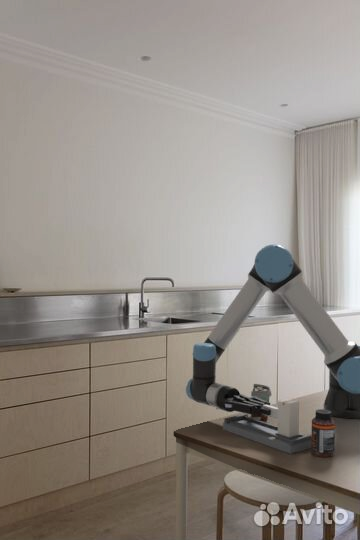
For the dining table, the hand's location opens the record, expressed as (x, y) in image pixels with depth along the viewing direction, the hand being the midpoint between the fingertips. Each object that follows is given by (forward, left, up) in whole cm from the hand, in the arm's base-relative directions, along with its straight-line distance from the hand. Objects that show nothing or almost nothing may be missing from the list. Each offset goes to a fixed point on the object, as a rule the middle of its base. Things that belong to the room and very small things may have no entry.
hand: (281, 414), depth 147 cm
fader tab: (0, +2, -6) cm, 6 cm away
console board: (0, -6, -8) cm, 10 cm away
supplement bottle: (-2, +12, -8) cm, 15 cm away
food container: (-13, -20, -8) cm, 25 cm away
